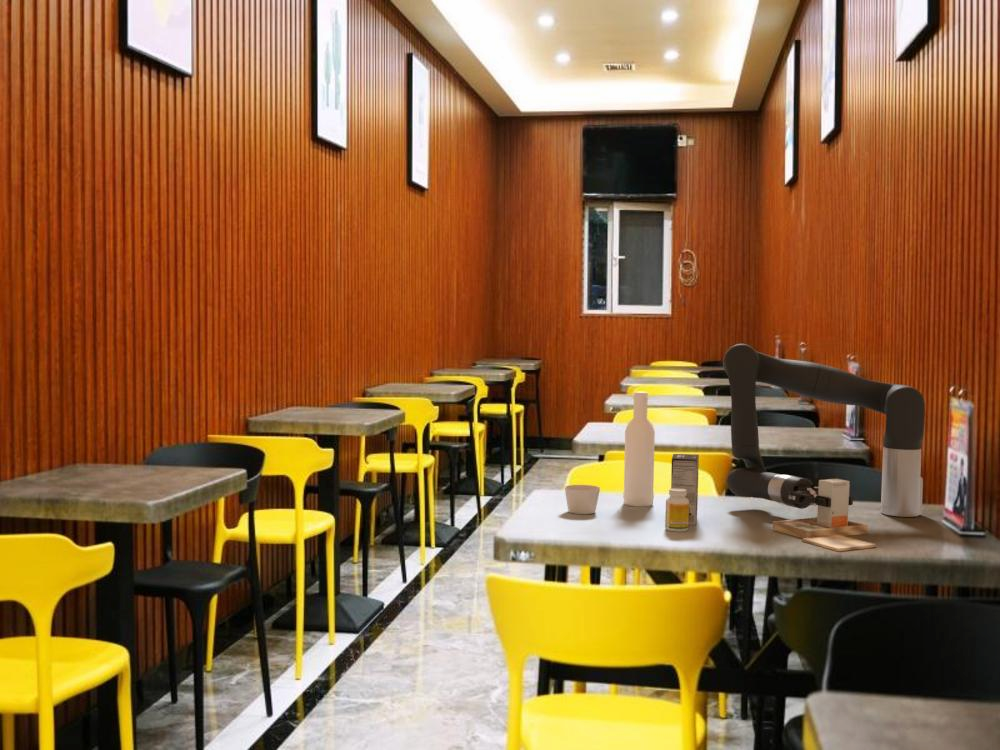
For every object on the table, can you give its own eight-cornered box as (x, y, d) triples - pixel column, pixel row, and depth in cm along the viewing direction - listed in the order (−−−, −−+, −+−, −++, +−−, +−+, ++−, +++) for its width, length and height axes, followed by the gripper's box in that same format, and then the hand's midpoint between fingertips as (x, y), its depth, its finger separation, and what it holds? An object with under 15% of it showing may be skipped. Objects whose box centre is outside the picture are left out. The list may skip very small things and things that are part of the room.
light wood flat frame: (829, 524, 251) (829, 516, 251) (867, 533, 241) (867, 525, 240) (772, 529, 243) (772, 521, 243) (808, 539, 233) (809, 531, 232)
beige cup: (606, 513, 262) (607, 488, 261) (579, 516, 257) (579, 491, 256) (584, 507, 269) (584, 483, 269) (557, 511, 264) (557, 486, 264)
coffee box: (671, 517, 258) (672, 453, 257) (697, 518, 256) (698, 454, 256) (669, 524, 249) (671, 457, 248) (696, 525, 247) (698, 458, 247)
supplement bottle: (660, 528, 243) (661, 488, 243) (679, 526, 245) (680, 486, 245) (674, 532, 238) (675, 491, 238) (693, 531, 241) (694, 490, 240)
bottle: (657, 503, 277) (659, 391, 276) (648, 507, 270) (651, 393, 268) (628, 500, 281) (631, 390, 279) (619, 505, 273) (621, 392, 272)
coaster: (838, 537, 236) (838, 534, 236) (875, 547, 226) (875, 544, 226) (801, 541, 231) (802, 538, 231) (838, 551, 221) (838, 548, 221)
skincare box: (829, 533, 240) (831, 482, 240) (816, 529, 244) (817, 479, 244) (848, 531, 243) (850, 480, 243) (835, 527, 247) (836, 478, 246)
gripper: (768, 477, 253) (818, 487, 238) (813, 474, 259) (864, 484, 244) (768, 507, 253) (817, 520, 238) (812, 503, 260) (863, 515, 245)
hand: (840, 501), depth 241 cm, fingers open, 6 cm apart
